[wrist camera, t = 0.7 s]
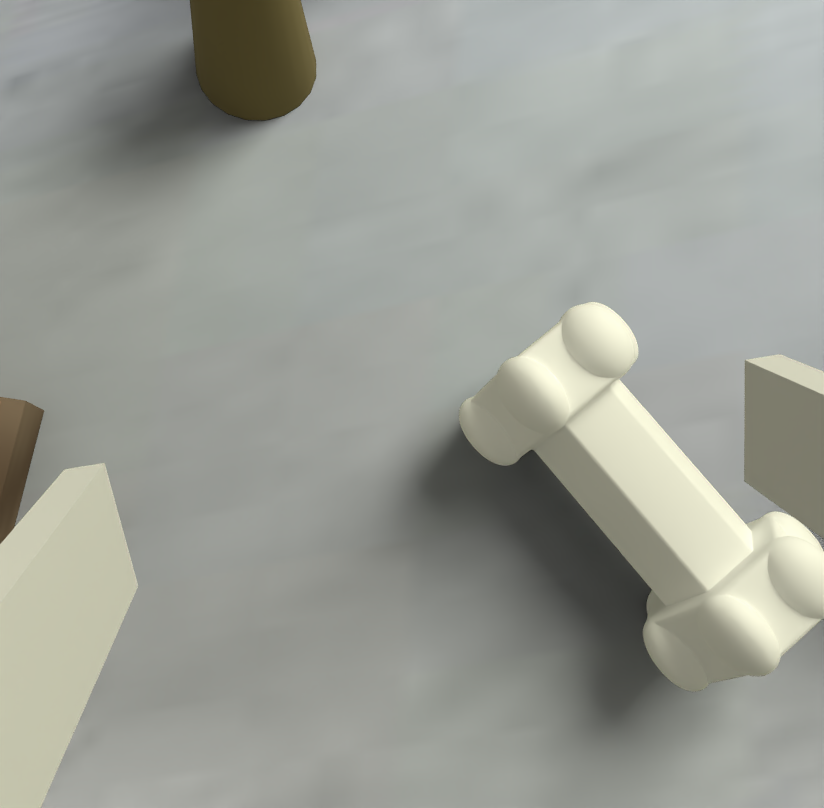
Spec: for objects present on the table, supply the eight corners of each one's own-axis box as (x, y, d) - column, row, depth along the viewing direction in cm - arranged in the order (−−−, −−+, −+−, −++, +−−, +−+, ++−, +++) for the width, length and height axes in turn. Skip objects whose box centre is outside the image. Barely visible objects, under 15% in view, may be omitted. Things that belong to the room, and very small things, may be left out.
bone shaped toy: (441, 427, 36) (452, 401, 28) (577, 316, 37) (626, 259, 29) (652, 681, 35) (728, 730, 26) (789, 558, 35) (903, 569, 27)
